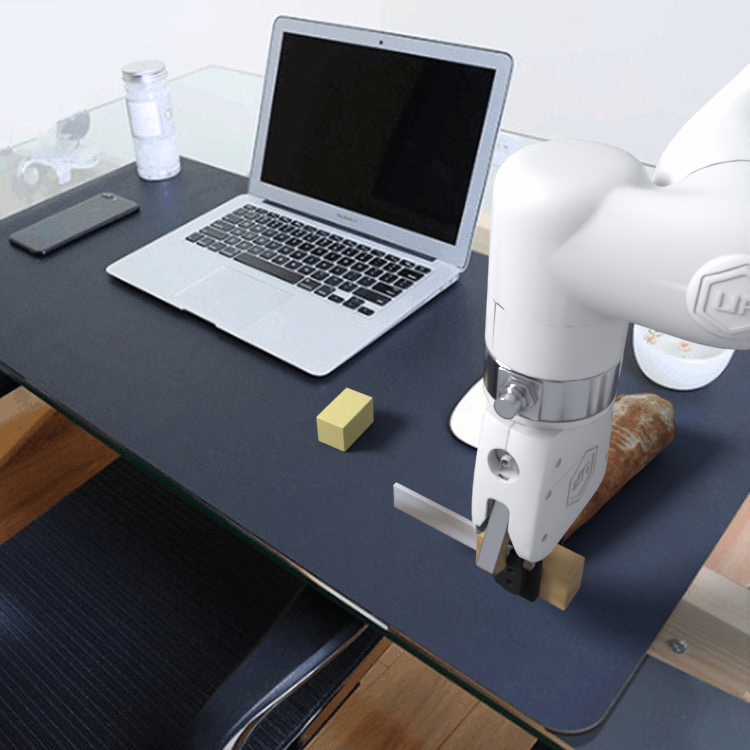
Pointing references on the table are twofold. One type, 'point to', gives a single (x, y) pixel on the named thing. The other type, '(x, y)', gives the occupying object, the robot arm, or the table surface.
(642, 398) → the bread
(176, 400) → the table surface
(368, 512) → the table surface
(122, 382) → the table surface
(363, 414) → the butter
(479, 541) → the knife
